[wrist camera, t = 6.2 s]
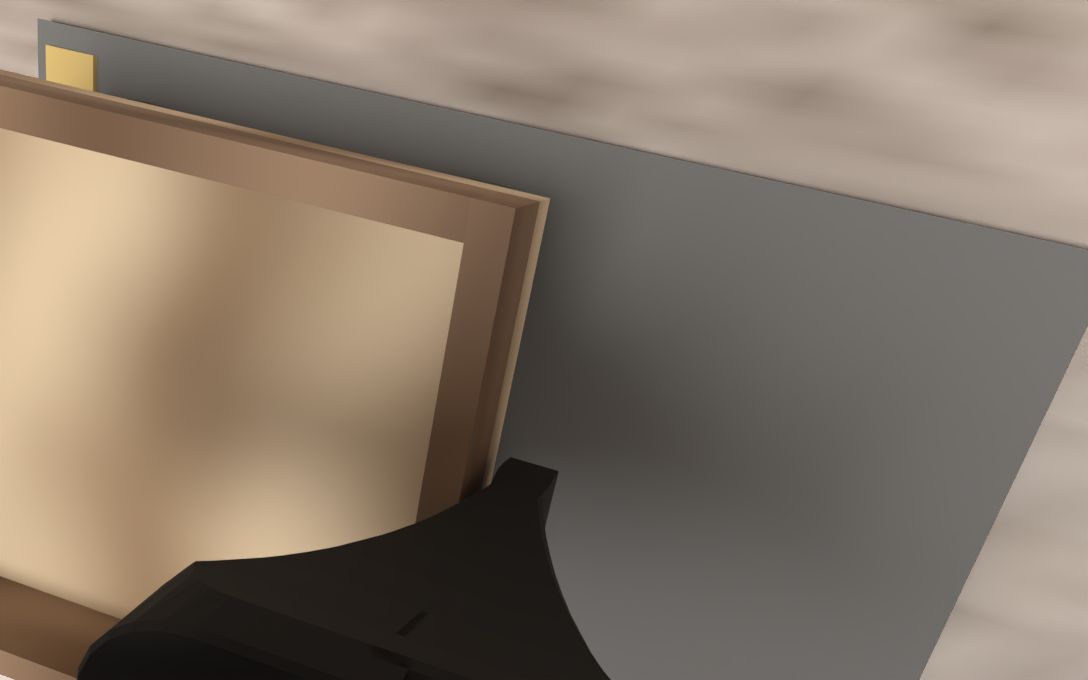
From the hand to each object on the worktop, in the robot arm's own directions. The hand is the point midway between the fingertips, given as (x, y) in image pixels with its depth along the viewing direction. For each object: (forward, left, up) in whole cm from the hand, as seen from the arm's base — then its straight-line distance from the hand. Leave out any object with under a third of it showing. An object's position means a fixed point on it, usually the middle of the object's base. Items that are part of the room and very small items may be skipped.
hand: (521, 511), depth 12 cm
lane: (+2, 0, -3) cm, 4 cm away
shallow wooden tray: (+6, 0, -3) cm, 7 cm away
